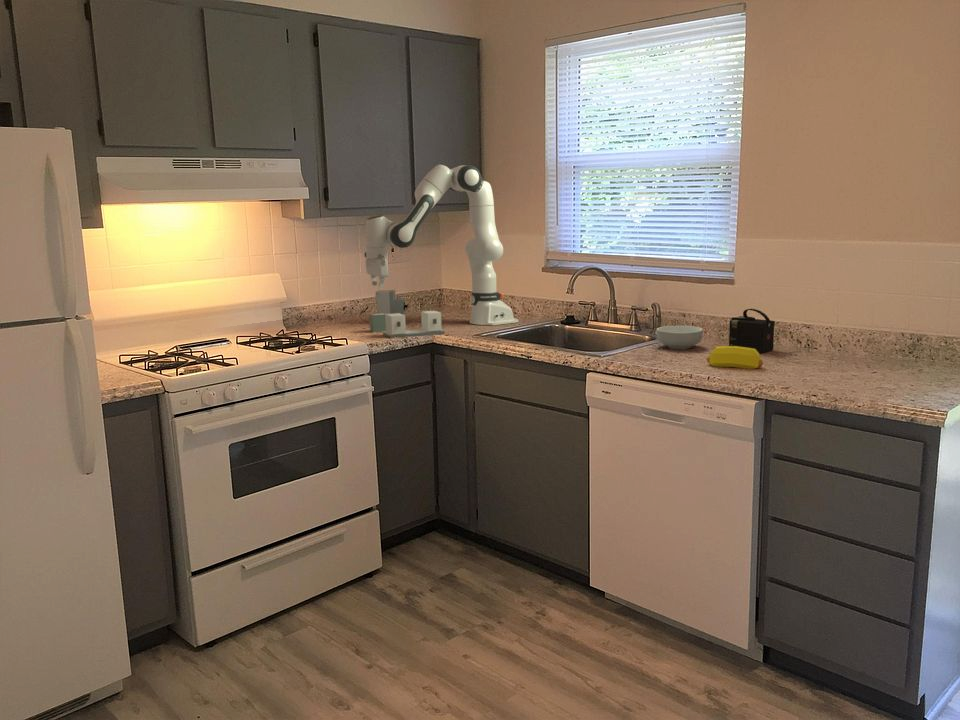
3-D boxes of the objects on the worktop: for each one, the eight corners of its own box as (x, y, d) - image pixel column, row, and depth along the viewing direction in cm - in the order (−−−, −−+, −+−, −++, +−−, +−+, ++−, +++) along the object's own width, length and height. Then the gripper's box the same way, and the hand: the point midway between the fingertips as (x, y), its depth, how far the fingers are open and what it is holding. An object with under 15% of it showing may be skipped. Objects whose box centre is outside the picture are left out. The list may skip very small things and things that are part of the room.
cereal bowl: (651, 344, 315) (651, 325, 314) (693, 343, 316) (694, 324, 315) (663, 352, 299) (663, 332, 297) (708, 350, 299) (709, 331, 298)
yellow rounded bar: (761, 371, 263) (764, 366, 270) (762, 350, 262) (765, 346, 269) (704, 367, 271) (708, 362, 278) (704, 347, 270) (709, 343, 277)
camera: (741, 345, 308) (743, 306, 306) (776, 350, 298) (778, 309, 296) (725, 349, 301) (727, 308, 298) (761, 354, 291) (763, 312, 288)
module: (385, 330, 362) (385, 312, 361) (389, 331, 358) (388, 314, 356) (370, 331, 359) (369, 314, 358) (373, 332, 355) (373, 315, 354)
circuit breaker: (407, 324, 379) (406, 291, 376) (376, 324, 379) (375, 292, 376) (409, 321, 386) (408, 289, 383) (378, 322, 387) (377, 290, 384)
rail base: (436, 330, 358) (435, 310, 356) (444, 333, 349) (444, 312, 347) (383, 335, 348) (382, 314, 346) (390, 338, 339) (389, 316, 337)
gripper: (391, 255, 344) (392, 288, 347) (376, 252, 363) (377, 284, 365) (377, 255, 342) (378, 288, 344) (363, 253, 360) (364, 284, 363)
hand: (377, 286), depth 355 cm, fingers open, 8 cm apart
